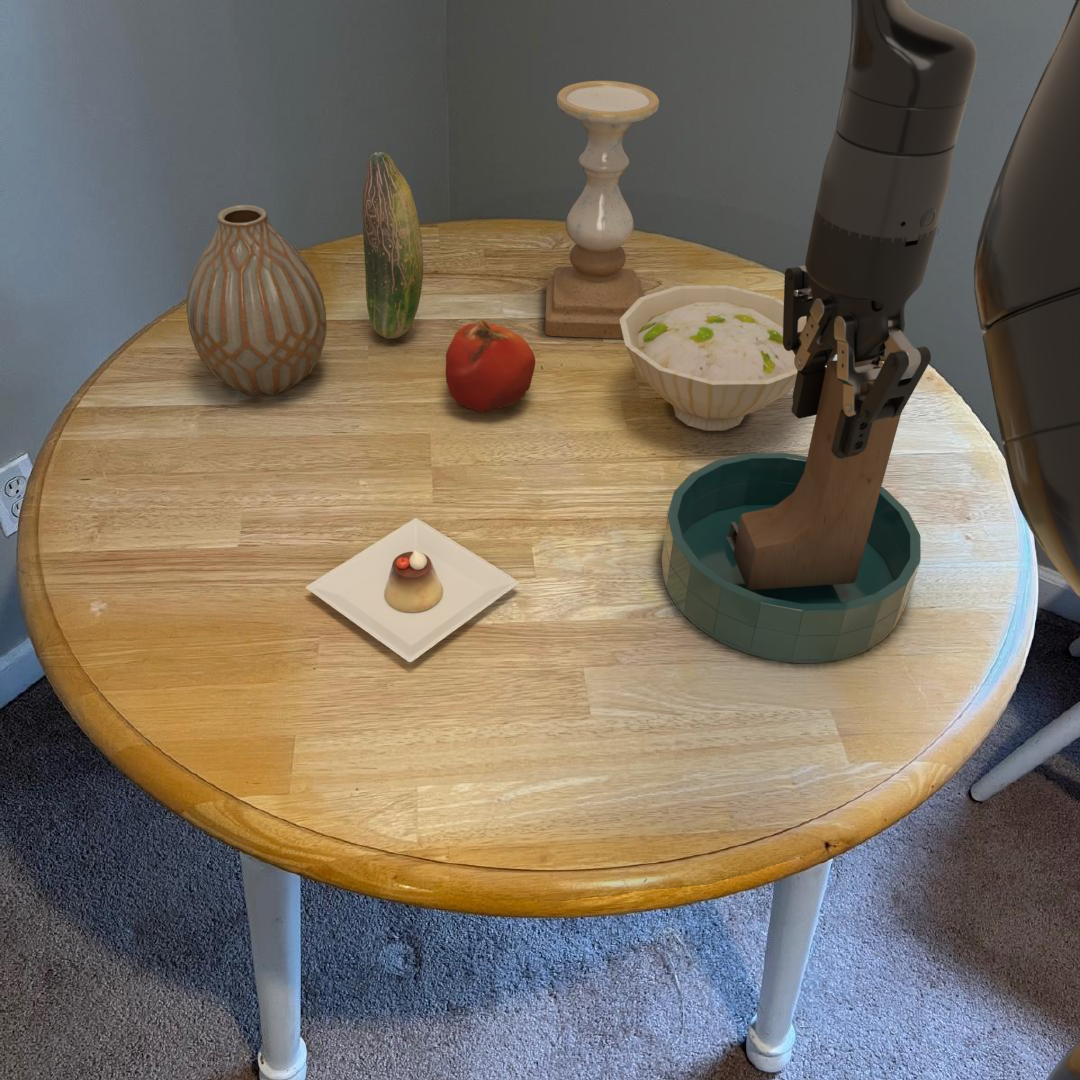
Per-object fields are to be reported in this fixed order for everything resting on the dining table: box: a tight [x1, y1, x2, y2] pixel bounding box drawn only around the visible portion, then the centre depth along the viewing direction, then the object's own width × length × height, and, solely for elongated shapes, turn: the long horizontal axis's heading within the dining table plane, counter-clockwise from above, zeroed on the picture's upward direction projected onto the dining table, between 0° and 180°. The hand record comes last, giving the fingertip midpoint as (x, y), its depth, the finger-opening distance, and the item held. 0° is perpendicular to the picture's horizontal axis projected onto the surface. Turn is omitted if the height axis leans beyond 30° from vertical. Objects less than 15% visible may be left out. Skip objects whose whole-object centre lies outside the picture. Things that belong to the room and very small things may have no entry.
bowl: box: [619, 285, 806, 432], centre depth 105 cm, size 19×19×10 cm
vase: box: [186, 204, 328, 397], centre depth 105 cm, size 13×13×18 cm
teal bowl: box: [660, 452, 922, 664], centre depth 88 cm, size 20×20×6 cm
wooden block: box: [734, 359, 902, 590], centre depth 82 cm, size 9×4×18 cm, turn 97°
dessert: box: [305, 517, 520, 663], centre depth 86 cm, size 12×12×5 cm
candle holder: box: [544, 80, 660, 340], centre depth 116 cm, size 11×11×24 cm
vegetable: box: [361, 151, 424, 340], centre depth 112 cm, size 6×6×20 cm
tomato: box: [445, 319, 536, 413], centre depth 107 cm, size 9×9×8 cm
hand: (825, 433), depth 79 cm, fingers closed on wooden block, 4 cm apart
